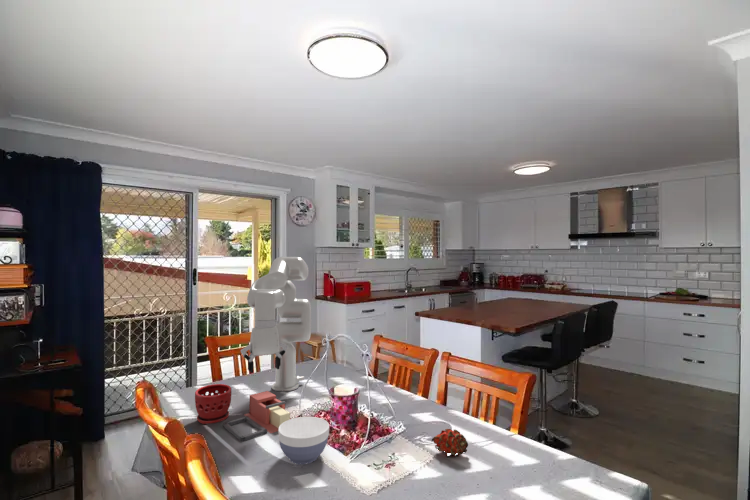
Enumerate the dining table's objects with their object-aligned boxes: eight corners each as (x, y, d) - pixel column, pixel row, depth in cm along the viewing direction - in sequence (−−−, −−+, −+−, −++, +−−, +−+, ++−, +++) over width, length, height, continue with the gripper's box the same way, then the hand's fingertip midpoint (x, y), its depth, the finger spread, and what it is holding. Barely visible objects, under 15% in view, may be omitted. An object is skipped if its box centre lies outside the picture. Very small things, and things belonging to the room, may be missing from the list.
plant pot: (188, 420, 153) (189, 389, 153) (221, 410, 162) (221, 381, 162) (203, 431, 144) (204, 397, 144) (237, 420, 153) (237, 389, 154)
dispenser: (243, 417, 156) (243, 396, 156) (271, 409, 164) (271, 389, 164) (270, 436, 140) (270, 412, 140) (299, 426, 148) (300, 404, 148)
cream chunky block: (266, 420, 150) (267, 407, 150) (276, 417, 153) (276, 404, 153) (280, 429, 143) (280, 415, 143) (289, 426, 146) (290, 412, 146)
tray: (247, 421, 152) (247, 416, 152) (267, 435, 140) (267, 429, 140) (222, 428, 146) (222, 423, 146) (241, 444, 134) (241, 438, 134)
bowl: (285, 475, 115) (285, 442, 115) (272, 451, 129) (273, 421, 129) (336, 462, 122) (336, 431, 123) (319, 441, 137) (319, 413, 137)
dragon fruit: (470, 465, 125) (434, 462, 130) (472, 439, 131) (438, 437, 136) (464, 449, 121) (426, 447, 126) (466, 424, 127) (430, 422, 132)
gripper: (284, 321, 156) (283, 364, 156) (239, 324, 147) (238, 370, 147) (290, 323, 150) (290, 369, 149) (243, 327, 141) (242, 376, 140)
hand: (264, 370), depth 148 cm, fingers open, 9 cm apart
